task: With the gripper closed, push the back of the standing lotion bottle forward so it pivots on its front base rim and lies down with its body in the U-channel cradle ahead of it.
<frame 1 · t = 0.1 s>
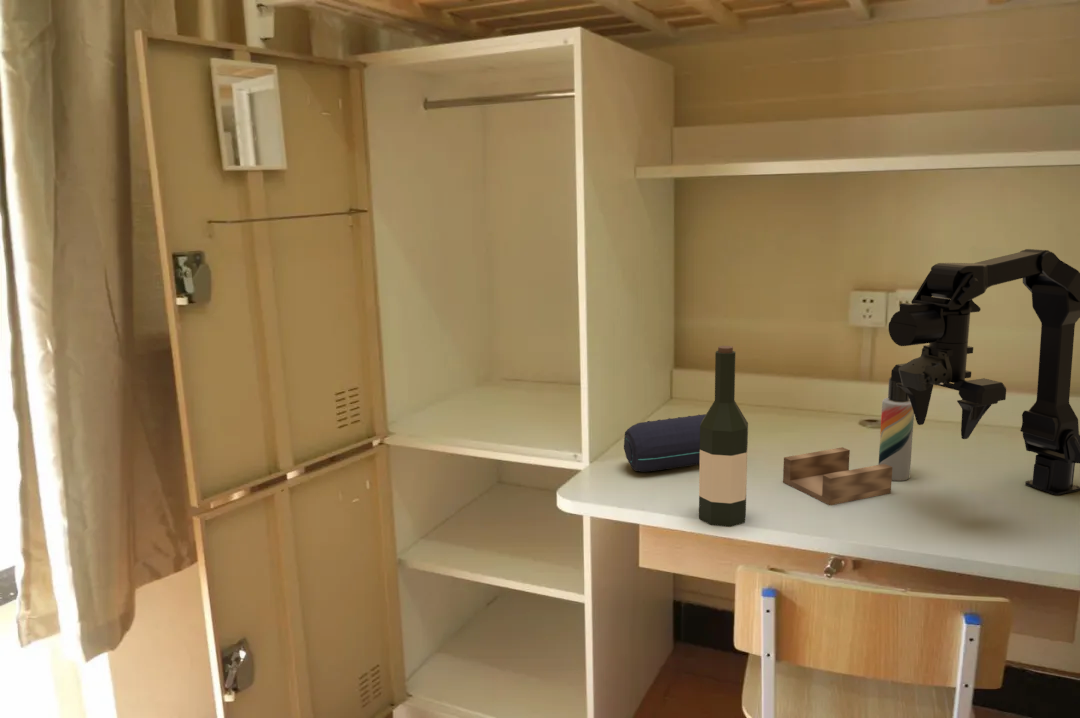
hand: (941, 431, 139), 15 cm above the table, tool pointing down, fingers open, 9 cm apart
cradle: (835, 487, 155), on the table
portable speaker: (681, 466, 170), on the table
wine bottle: (722, 518, 143), on the table
lotion bottle: (893, 477, 160), on the table
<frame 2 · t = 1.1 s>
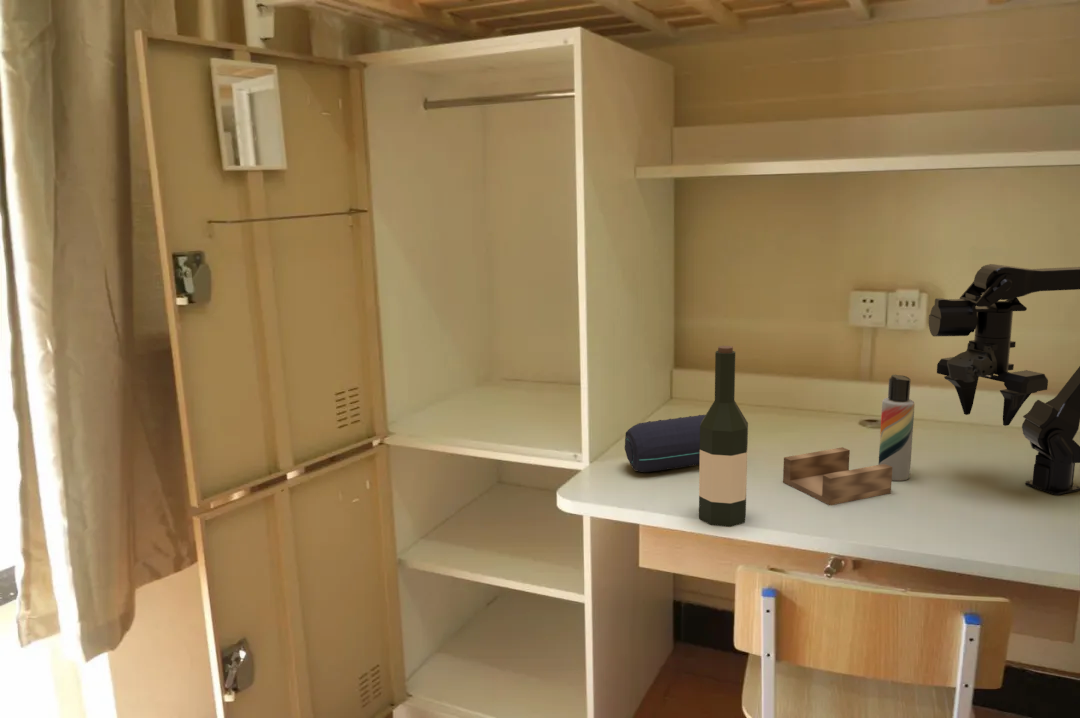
hand: (986, 419, 151), 13 cm above the table, tool pointing down, fingers open, 8 cm apart
nothing on the table moved.
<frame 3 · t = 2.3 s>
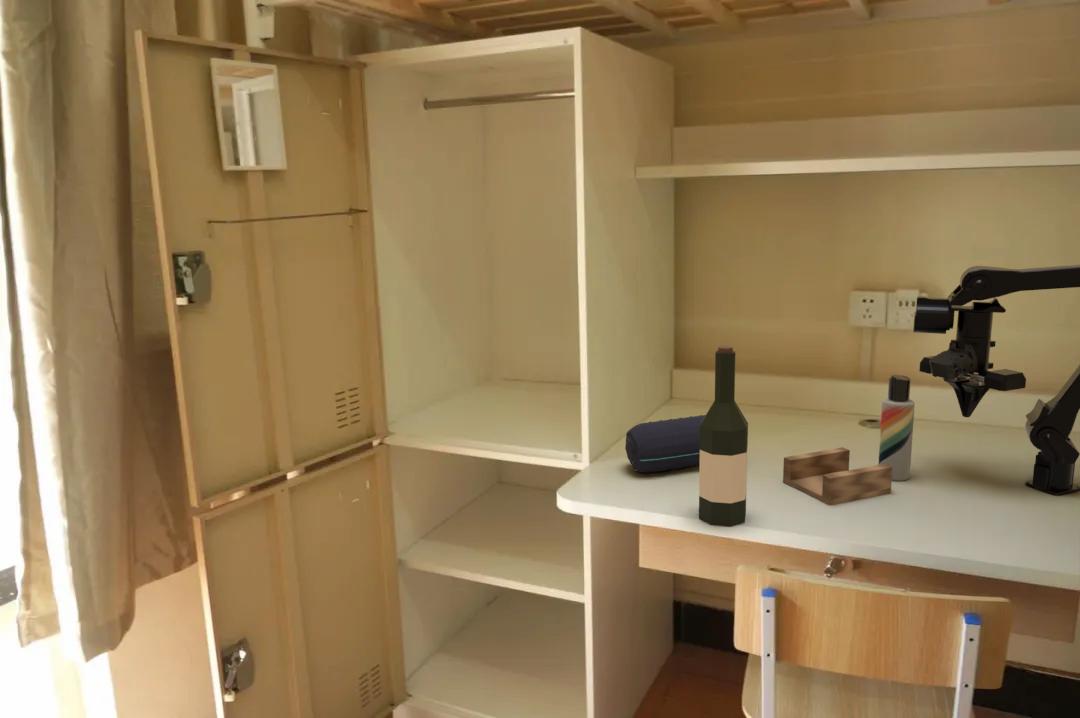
hand: (966, 416, 156), 12 cm above the table, tool pointing down, fingers closed
nothing on the table moved.
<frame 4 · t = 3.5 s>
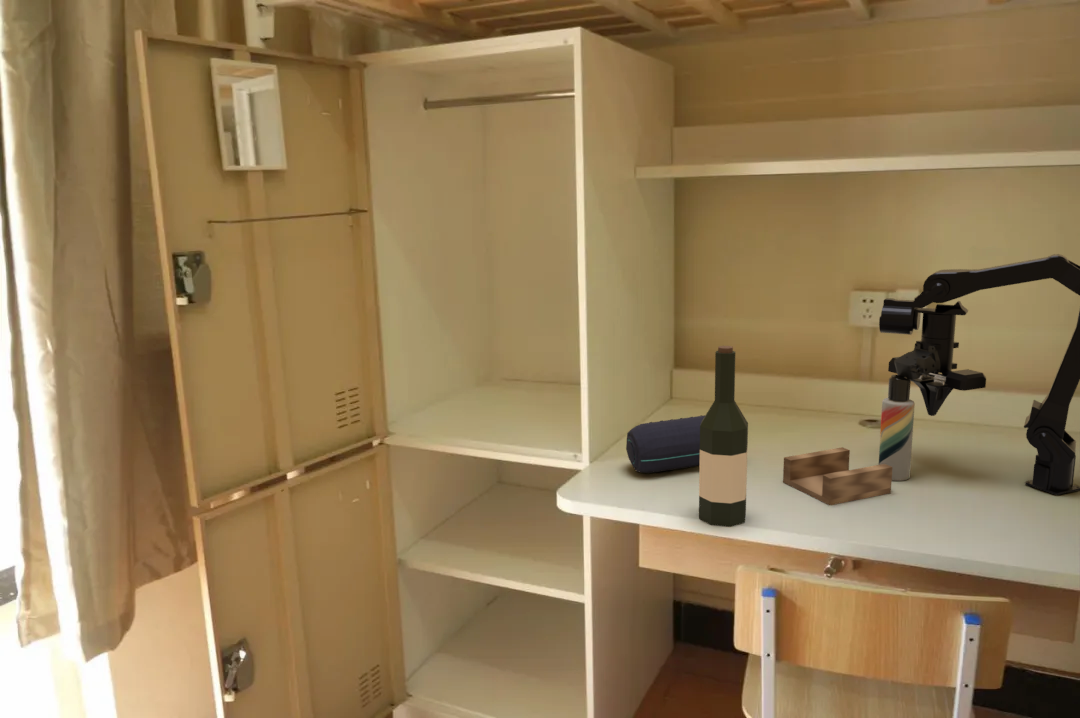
hand: (931, 415, 161), 11 cm above the table, tool pointing down, fingers closed
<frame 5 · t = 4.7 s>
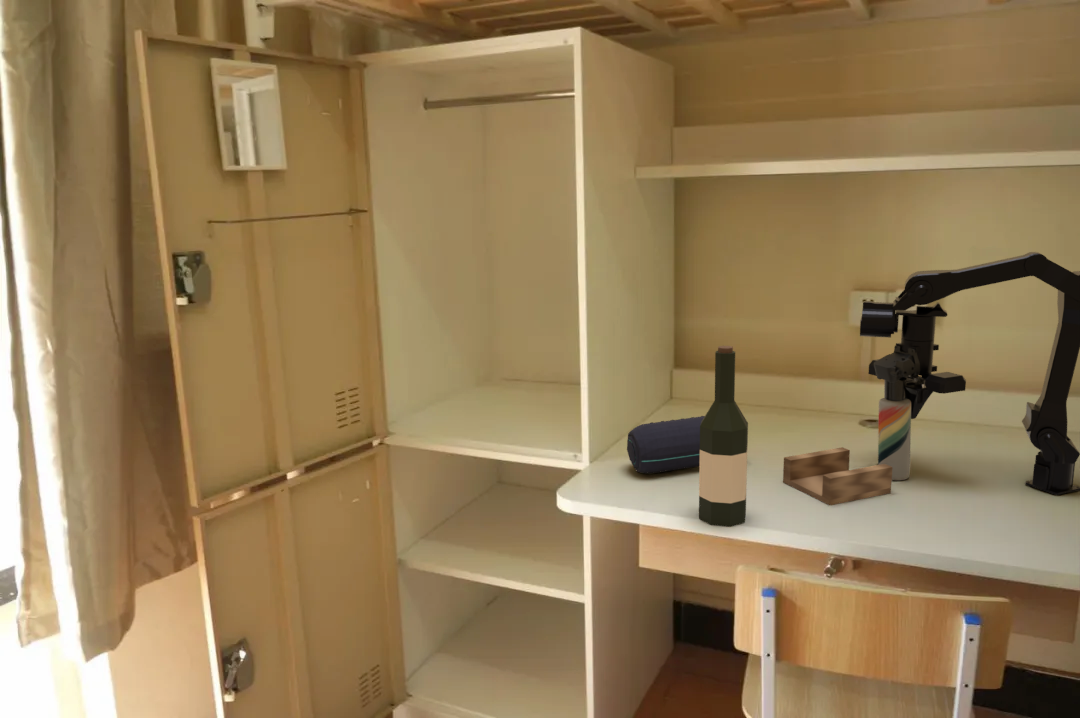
hand: (911, 418, 159), 11 cm above the table, tool pointing down, fingers closed, pressing on lotion bottle
lotion bottle: (893, 476, 160), on the table, touching gripper
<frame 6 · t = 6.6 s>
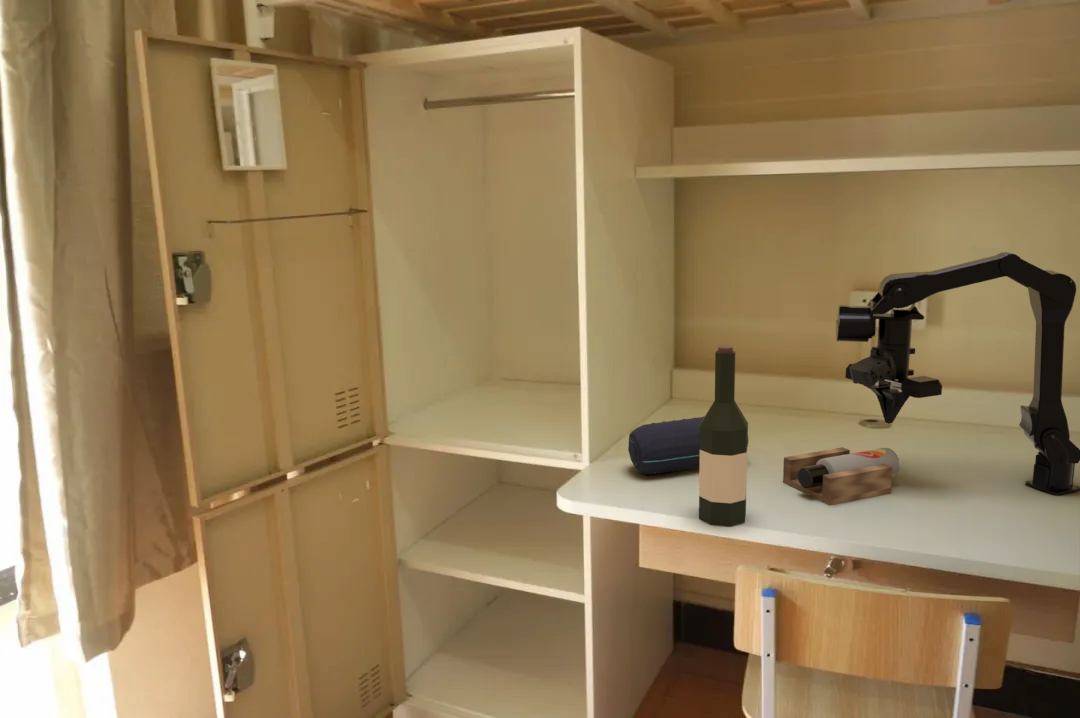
hand: (888, 422, 157), 11 cm above the table, tool pointing down, fingers closed
lotion bottle: (890, 462, 157), point 4 cm above the table, touching cradle
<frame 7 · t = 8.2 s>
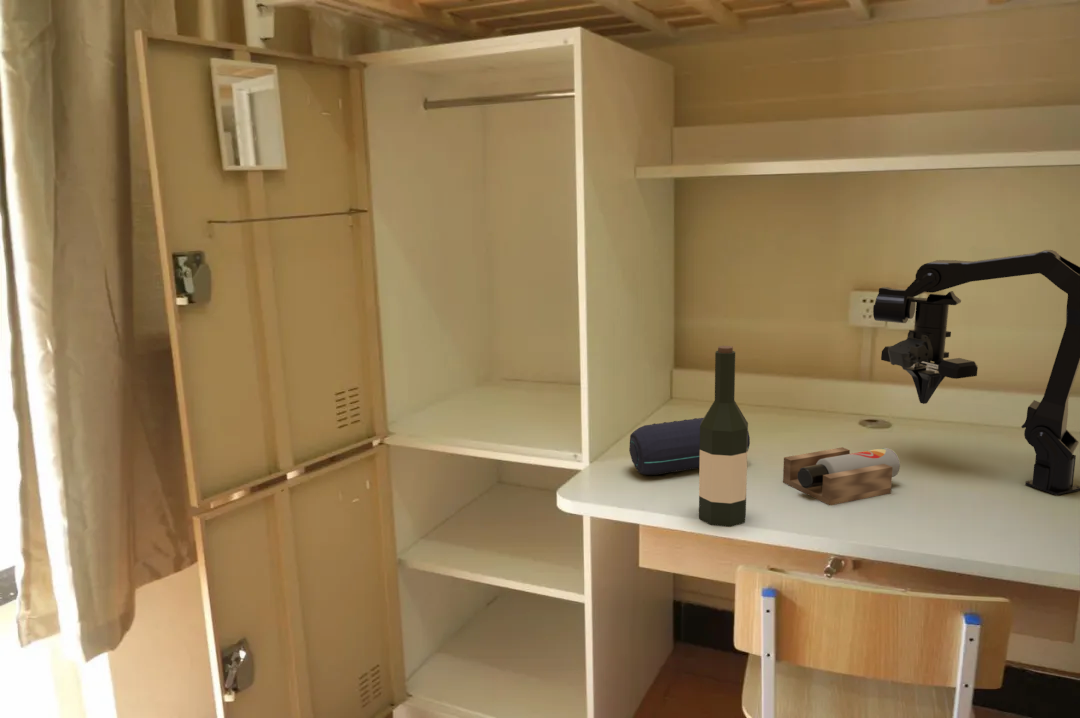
hand: (923, 403, 164), 13 cm above the table, tool pointing down, fingers closed
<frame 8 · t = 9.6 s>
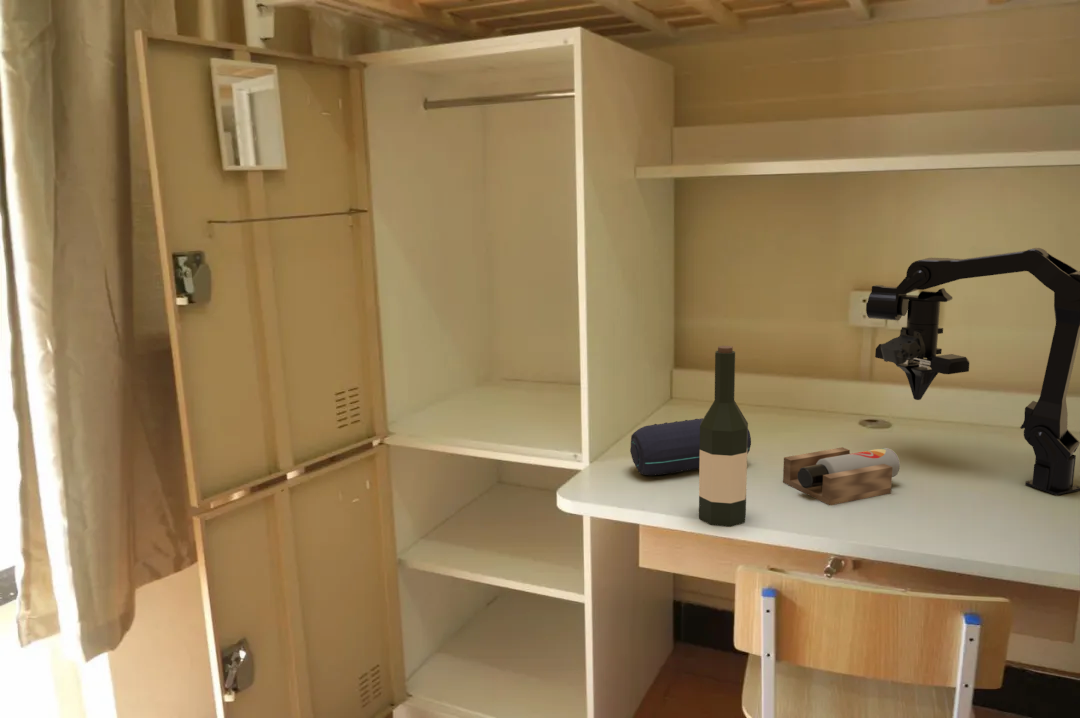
hand: (917, 399, 166), 13 cm above the table, tool pointing down, fingers closed
at the end: lotion bottle tilted 90°; lotion bottle touching cradle; lotion bottle inside the target area (1.9 cm from its centre), point 3.8 cm above the table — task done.
